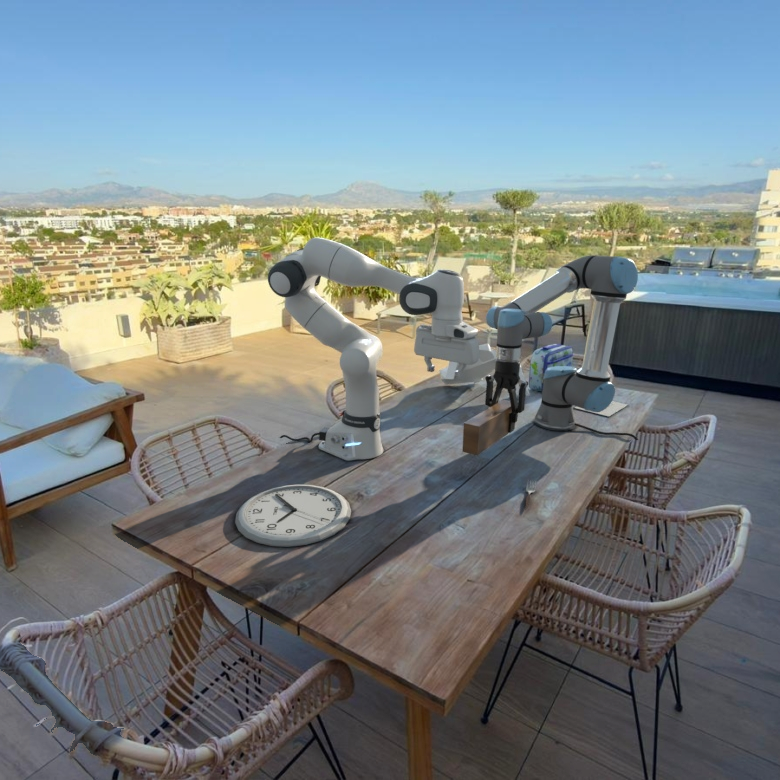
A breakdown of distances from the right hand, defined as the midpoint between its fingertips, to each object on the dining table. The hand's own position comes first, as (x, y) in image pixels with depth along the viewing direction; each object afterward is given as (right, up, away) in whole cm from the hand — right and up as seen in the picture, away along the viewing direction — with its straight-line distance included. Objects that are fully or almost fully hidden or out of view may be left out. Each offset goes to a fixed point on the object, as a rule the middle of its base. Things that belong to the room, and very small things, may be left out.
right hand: (502, 429), depth 169 cm
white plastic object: (+5, +11, +74) cm, 75 cm away
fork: (+3, -18, -21) cm, 28 cm away
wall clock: (-62, -20, -31) cm, 72 cm away
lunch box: (+40, +13, +82) cm, 92 cm away
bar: (-5, -3, -7) cm, 9 cm away
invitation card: (+55, +5, +57) cm, 80 cm away
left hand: (-20, +17, -15) cm, 31 cm away
